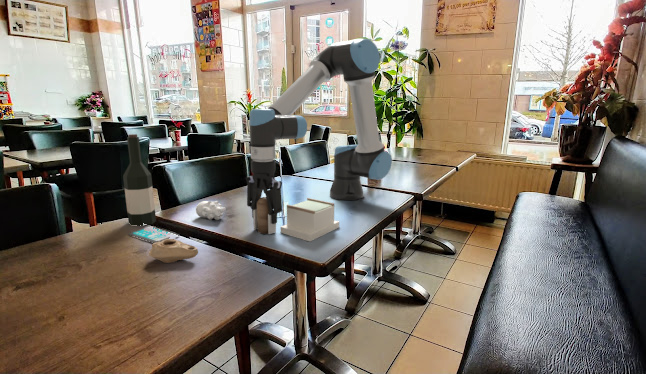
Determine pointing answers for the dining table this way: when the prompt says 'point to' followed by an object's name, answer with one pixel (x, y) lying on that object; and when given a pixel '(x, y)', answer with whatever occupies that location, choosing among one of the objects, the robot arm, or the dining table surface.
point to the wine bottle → (138, 187)
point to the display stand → (310, 219)
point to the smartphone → (151, 235)
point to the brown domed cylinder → (262, 215)
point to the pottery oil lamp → (172, 250)
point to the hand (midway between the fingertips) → (264, 230)
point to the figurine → (210, 210)
